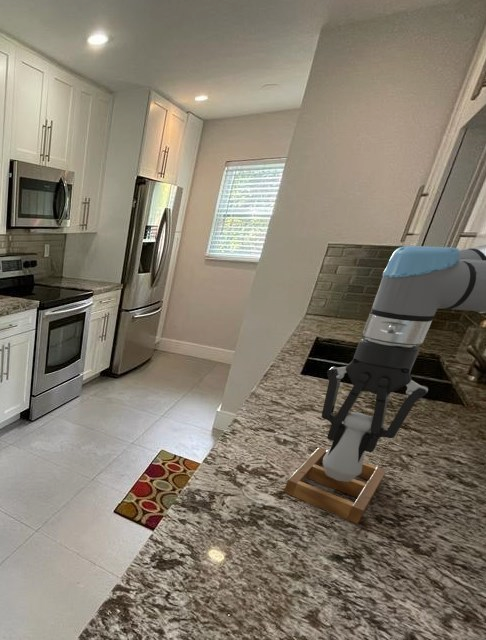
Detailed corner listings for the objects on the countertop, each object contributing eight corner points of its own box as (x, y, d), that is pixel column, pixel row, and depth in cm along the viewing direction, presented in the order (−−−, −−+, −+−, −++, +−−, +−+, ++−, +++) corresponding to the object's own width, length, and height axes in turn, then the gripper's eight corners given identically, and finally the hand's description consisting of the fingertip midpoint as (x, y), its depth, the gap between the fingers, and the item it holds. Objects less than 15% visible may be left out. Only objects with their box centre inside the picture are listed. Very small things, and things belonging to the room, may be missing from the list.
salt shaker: (346, 487, 76) (371, 425, 71) (312, 471, 81) (334, 411, 76) (363, 480, 78) (389, 419, 73) (329, 464, 83) (351, 406, 78)
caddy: (381, 481, 86) (386, 469, 85) (357, 524, 74) (363, 510, 73) (315, 457, 95) (319, 446, 94) (283, 492, 82) (287, 479, 81)
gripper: (325, 334, 73) (287, 448, 82) (457, 357, 62) (397, 487, 70) (336, 328, 78) (299, 437, 86) (461, 348, 66) (404, 472, 75)
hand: (343, 459), depth 78 cm, fingers closed on salt shaker, 3 cm apart
